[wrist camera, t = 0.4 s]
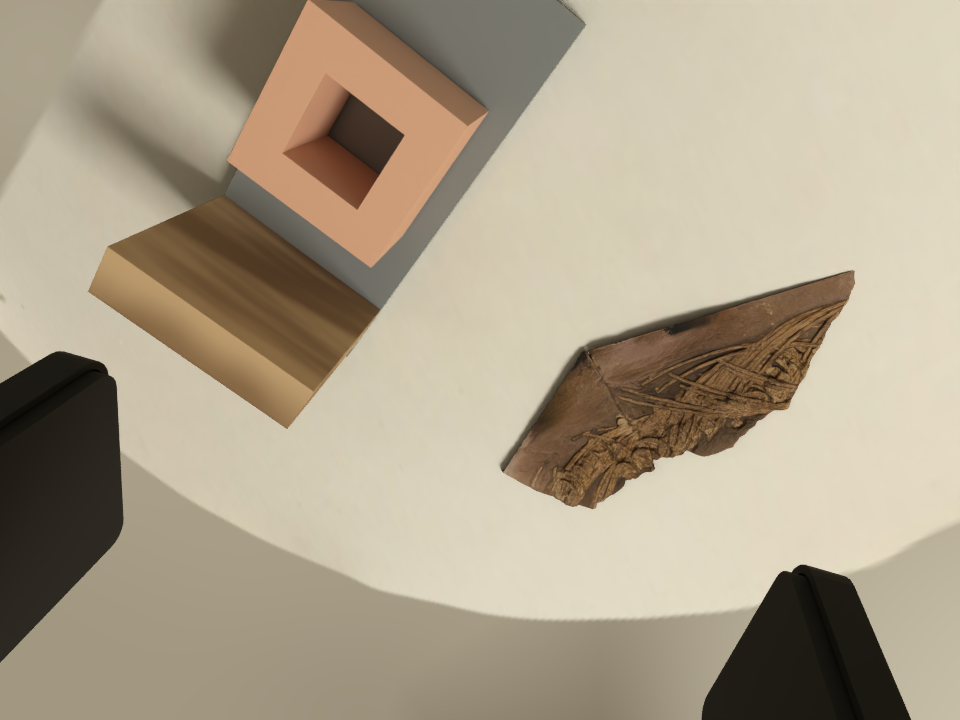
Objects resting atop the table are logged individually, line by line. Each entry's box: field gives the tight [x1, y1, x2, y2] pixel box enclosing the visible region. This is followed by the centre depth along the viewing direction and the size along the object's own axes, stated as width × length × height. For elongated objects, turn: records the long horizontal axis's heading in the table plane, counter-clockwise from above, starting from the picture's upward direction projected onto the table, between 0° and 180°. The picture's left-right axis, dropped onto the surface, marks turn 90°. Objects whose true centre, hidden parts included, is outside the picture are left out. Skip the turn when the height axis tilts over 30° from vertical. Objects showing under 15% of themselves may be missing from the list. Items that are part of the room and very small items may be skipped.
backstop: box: [88, 195, 380, 429], centre depth 39 cm, size 3×12×11 cm, turn 54°
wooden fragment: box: [502, 271, 855, 509], centre depth 44 cm, size 26×11×1 cm, turn 127°
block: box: [227, 0, 489, 268], centre depth 36 cm, size 9×9×6 cm
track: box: [224, 0, 586, 357], centre depth 40 cm, size 25×12×1 cm, turn 144°
